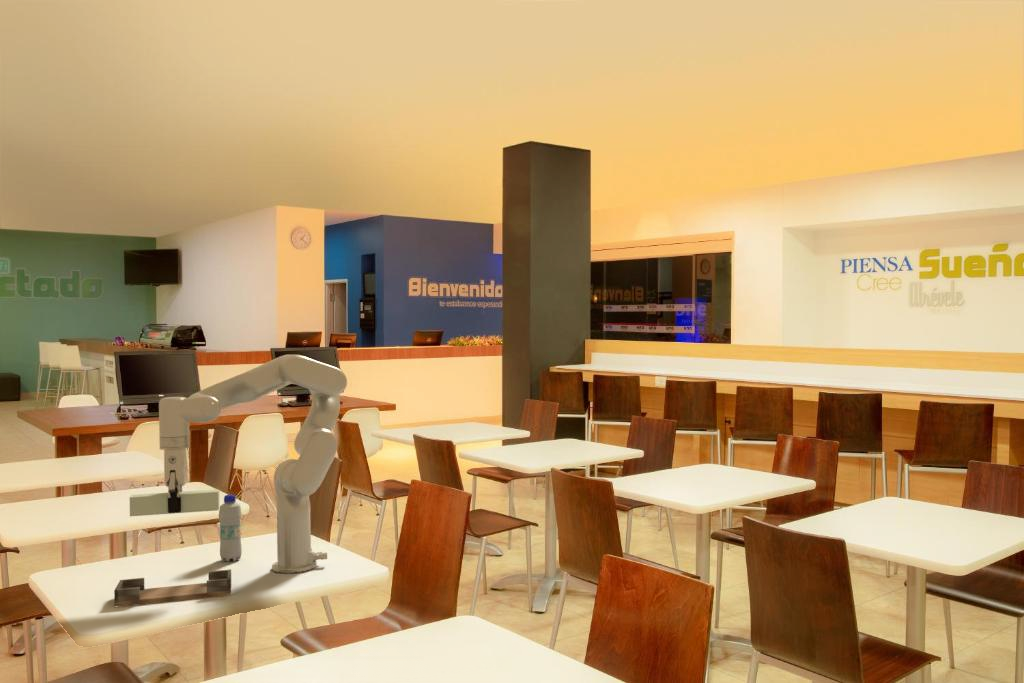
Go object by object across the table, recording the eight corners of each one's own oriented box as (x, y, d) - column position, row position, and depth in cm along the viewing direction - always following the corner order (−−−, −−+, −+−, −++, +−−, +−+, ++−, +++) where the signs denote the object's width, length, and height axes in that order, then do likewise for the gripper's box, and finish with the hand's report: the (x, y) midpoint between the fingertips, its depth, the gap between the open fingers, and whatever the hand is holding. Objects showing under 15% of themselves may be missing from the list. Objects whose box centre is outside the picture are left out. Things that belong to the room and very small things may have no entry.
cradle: (231, 584, 223) (231, 569, 223) (230, 595, 214) (230, 579, 214) (120, 595, 214) (120, 579, 214) (114, 607, 205) (114, 590, 205)
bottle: (238, 562, 245) (236, 496, 245) (215, 563, 245) (214, 496, 245) (245, 556, 252) (244, 492, 252) (224, 557, 252) (222, 492, 252)
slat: (219, 507, 224) (219, 489, 224) (218, 510, 221) (218, 491, 221) (132, 513, 218) (132, 494, 218) (129, 516, 215) (129, 497, 215)
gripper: (186, 445, 213) (187, 516, 213) (192, 438, 229) (193, 504, 229) (155, 447, 210) (156, 518, 210) (163, 439, 227) (164, 505, 227)
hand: (175, 510), depth 220 cm, fingers closed on slat, 4 cm apart
